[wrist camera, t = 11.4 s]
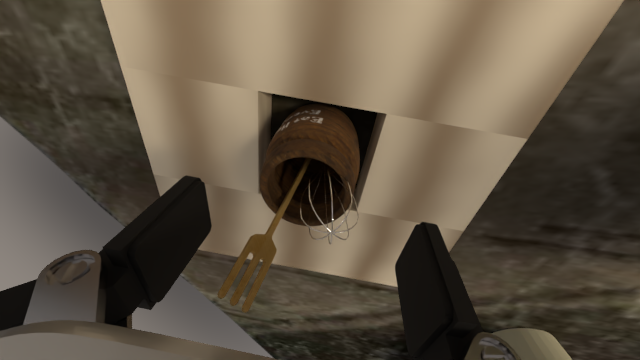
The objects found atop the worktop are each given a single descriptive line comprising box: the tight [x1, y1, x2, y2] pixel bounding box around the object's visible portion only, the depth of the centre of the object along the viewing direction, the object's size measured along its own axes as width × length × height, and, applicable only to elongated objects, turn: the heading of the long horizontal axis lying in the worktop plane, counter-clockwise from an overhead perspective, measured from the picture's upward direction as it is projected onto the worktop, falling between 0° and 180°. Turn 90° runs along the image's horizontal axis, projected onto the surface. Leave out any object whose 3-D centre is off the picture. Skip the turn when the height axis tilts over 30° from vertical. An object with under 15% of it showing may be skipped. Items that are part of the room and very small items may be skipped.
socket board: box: [101, 0, 624, 287], centre depth 17 cm, size 24×24×3 cm
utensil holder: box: [218, 103, 360, 313], centre depth 13 cm, size 6×6×12 cm
